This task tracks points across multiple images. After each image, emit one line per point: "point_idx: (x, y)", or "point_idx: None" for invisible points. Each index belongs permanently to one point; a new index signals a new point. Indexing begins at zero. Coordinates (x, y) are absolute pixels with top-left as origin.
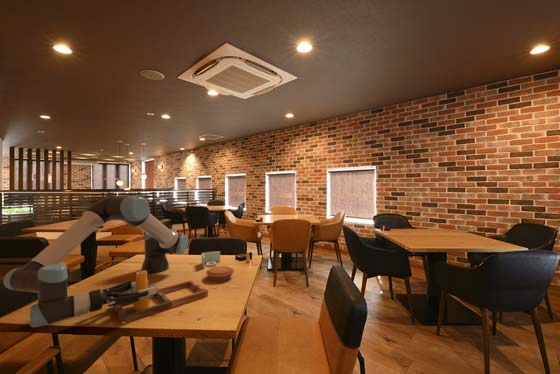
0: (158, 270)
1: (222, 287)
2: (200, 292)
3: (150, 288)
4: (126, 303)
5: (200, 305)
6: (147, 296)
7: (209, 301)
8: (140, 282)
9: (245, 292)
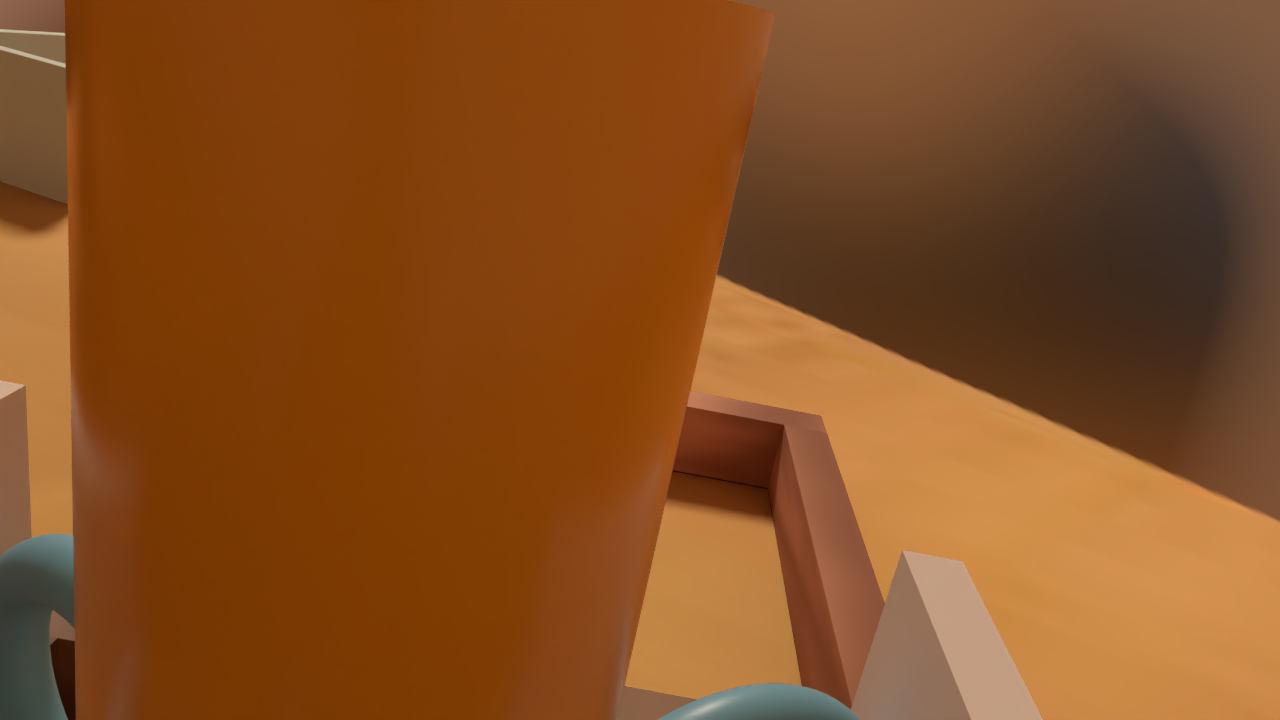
0: None
1: (697, 365)
2: (824, 456)
3: (1022, 686)
4: None
5: (1036, 619)
6: None
7: (969, 536)
8: (628, 589)
9: (940, 379)
